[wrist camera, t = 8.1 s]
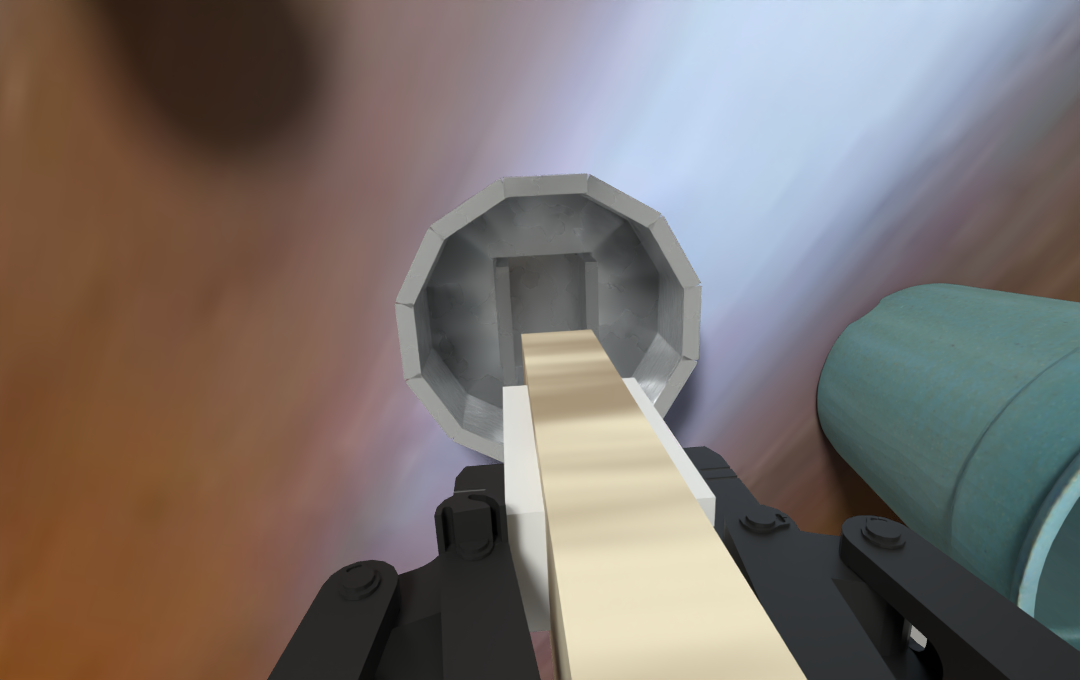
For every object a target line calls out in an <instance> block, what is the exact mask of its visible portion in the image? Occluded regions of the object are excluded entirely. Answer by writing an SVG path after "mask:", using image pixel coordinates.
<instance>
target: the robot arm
mask: <svg viewBox="0 0 1080 680" xmlns="http://www.w3.org/2000/svg"><path fill="white" fill-rule="evenodd" d="M622 380H623V382H624V383H625V385H626V386H627V388H628V390H629V391H630V393H631V395H632V396H633V398H634V399H635V401H636V403H637V404H638V406H639V408H640V409H641V411H642V412H643V414H644V416H645V417H646V419H647V421H648V422H649V424H650V425H651V427H652V429H653V430H654V432H655V434H656V435H657V437H658V438H659V440H660V442H661V443H662V445H663V447H664V448H665V450H666V451H667V453H668V455H669V456H670V458H671V459H672V461H673V463H674V464H675V466H676V468H677V469H678V471H679V472H680V474H681V476H682V477H683V479H684V481H685V482H686V484H687V485H688V487H689V489H690V490H691V492H692V494H693V495H694V497H695V498H696V500H697V502H698V503H699V505H700V507H701V508H702V510H703V511H704V513H705V515H706V516H707V518H708V520H709V521H710V523H711V524H712V526H713V528H714V529H715V531H716V532H717V534H718V536H719V537H720V539H721V541H722V542H723V544H724V545H725V547H726V549H727V550H728V552H729V554H730V555H731V557H732V558H733V560H734V562H735V563H736V565H737V567H738V568H739V570H740V571H741V573H742V575H743V576H744V578H745V580H746V581H747V583H748V584H749V586H750V588H751V589H752V591H753V593H754V594H755V596H756V597H757V599H758V601H759V602H760V604H761V605H762V607H763V609H764V610H765V612H766V614H767V615H768V617H769V618H770V620H771V622H772V623H773V625H774V627H775V628H776V630H777V631H778V633H779V635H780V636H781V638H782V640H783V641H784V643H785V644H786V646H787V648H788V649H789V651H790V653H791V654H792V656H793V657H794V659H795V661H796V662H797V664H798V666H799V667H800V669H801V670H802V672H803V674H804V675H805V677H806V679H807V680H1080V651H1078V650H1077V649H1076V648H1074V647H1073V646H1072V645H1070V644H1069V643H1067V642H1066V641H1065V640H1063V639H1062V638H1060V637H1059V636H1058V635H1056V634H1055V633H1054V632H1052V631H1051V630H1049V629H1048V628H1047V627H1045V626H1044V625H1043V624H1041V623H1040V622H1038V621H1037V620H1036V619H1034V618H1033V617H1032V616H1030V615H1029V614H1027V613H1026V612H1025V611H1023V610H1022V609H1020V608H1019V607H1018V606H1016V605H1015V604H1014V603H1012V602H1011V601H1009V600H1008V599H1007V598H1005V597H1004V596H1003V595H1001V594H1000V593H998V592H997V591H996V590H994V589H993V588H992V587H990V586H989V585H987V584H986V583H985V582H983V581H982V580H981V579H979V578H978V577H976V576H975V575H974V574H972V573H971V572H969V571H968V570H967V569H965V568H964V567H963V566H961V565H960V564H958V563H957V562H956V561H954V560H953V559H952V558H950V557H949V556H947V555H946V554H945V553H943V552H942V551H941V550H939V549H938V548H936V547H935V546H934V545H932V544H931V543H930V542H928V541H927V540H925V539H924V538H923V537H921V536H920V535H918V534H917V533H916V532H914V531H913V530H911V529H909V528H908V527H906V526H904V525H902V524H901V523H898V522H895V521H892V520H889V519H887V518H884V517H879V516H878V517H877V516H870V515H868V516H855V517H852V518H849V519H846V521H845V522H844V523H843V525H842V528H841V536H833V535H824V534H816V533H809V532H804V531H800V530H799V528H798V527H797V525H796V524H795V522H794V521H793V520H792V519H791V518H790V517H789V516H788V515H786V514H785V513H783V512H781V511H779V510H777V509H775V508H772V507H768V506H765V505H760V504H759V503H758V501H757V500H756V499H755V498H754V496H753V495H752V494H751V493H750V491H749V490H748V489H747V488H746V486H745V485H744V484H743V483H742V481H741V480H740V479H739V478H737V475H736V474H735V473H734V471H733V470H732V469H730V466H729V465H728V464H727V463H726V461H725V460H724V459H723V458H722V456H721V455H719V454H717V453H716V452H714V451H712V450H710V449H709V448H707V447H705V446H703V447H690V448H682V447H681V446H680V444H679V443H678V441H677V440H676V438H675V437H674V435H673V434H672V432H671V431H670V429H669V428H668V426H667V425H666V423H665V422H664V421H663V419H662V418H661V416H660V415H659V413H658V412H657V410H656V409H655V407H654V406H653V404H652V403H651V401H650V400H649V398H648V397H647V396H646V394H645V393H644V391H643V390H642V388H641V387H640V385H639V384H638V382H637V381H636V379H635V378H622ZM503 426H504V464H492V465H479V466H467V467H465V468H464V469H463V470H462V471H461V473H460V474H459V475H458V476H457V477H456V480H455V487H454V494H453V496H452V497H450V498H448V499H446V500H444V501H443V502H442V503H441V504H440V505H439V506H438V507H437V509H436V512H435V515H434V517H435V526H436V534H437V543H438V551H439V556H437V557H436V558H435V559H434V560H433V561H431V562H430V563H428V564H426V565H425V566H423V567H420V568H418V569H415V570H412V571H409V572H406V573H403V574H400V575H398V574H397V572H396V570H395V568H394V567H393V566H392V565H390V564H388V563H386V562H384V561H377V560H368V561H360V562H356V563H353V564H351V565H348V566H346V567H343V568H342V569H340V570H339V571H337V572H336V573H334V574H333V575H331V576H330V577H329V579H328V580H327V581H326V582H325V583H324V584H323V586H322V587H321V589H320V591H319V592H318V594H317V596H316V598H315V599H314V601H313V603H312V604H311V606H310V608H309V609H308V611H307V613H306V615H305V616H304V618H303V620H302V621H301V623H300V625H299V626H298V628H297V630H296V632H295V633H294V635H293V637H292V638H291V640H290V642H289V643H288V645H287V647H286V649H285V650H284V652H283V654H282V655H281V657H280V659H279V660H278V662H277V664H276V666H275V667H274V669H273V671H272V672H271V674H270V676H269V677H268V679H267V680H541V679H540V675H539V671H538V666H537V662H536V658H535V653H534V649H533V645H532V641H531V636H530V632H537V631H548V630H551V628H550V608H549V589H548V570H547V551H546V532H545V512H544V505H543V497H542V490H541V483H540V476H539V468H538V461H537V454H536V447H535V439H534V432H533V425H532V418H531V410H530V403H529V396H528V389H527V385H522V386H508V387H503ZM912 625H913V626H914V627H915V628H916V629H918V631H920V632H921V633H922V634H923V635H924V636H925V637H926V638H927V643H926V647H925V648H923V647H922V646H921V645H919V644H918V643H917V642H916V641H915V640H914V639H913V638H911V637H910V634H911V628H912Z"/></svg>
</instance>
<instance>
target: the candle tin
mask: <svg viewBox="0 0 1080 680" xmlns="http://www.w3.org/2000/svg"><path fill="white" fill-rule="evenodd" d="M700 283H701V282H700V280H699V279H698V277H697V275H696V273H695V271H694V270H693V268H692V266H691V264H690V263H689V261H688V259H687V257H686V255H685V254H684V252H683V250H682V248H681V246H680V245H679V243H678V241H677V239H676V237H675V236H674V234H673V232H672V230H671V228H670V227H669V225H668V223H667V221H666V219H665V218H664V216H663V215H661V213H659V212H658V211H656V210H654V209H652V208H650V207H649V206H647V205H645V204H643V203H641V202H639V201H638V200H636V199H634V198H632V197H630V196H629V195H627V194H625V193H623V192H621V191H619V190H618V189H616V188H614V187H612V186H610V185H609V184H607V183H605V182H603V181H601V180H599V179H598V178H596V177H594V176H592V175H590V174H555V175H535V176H515V177H503V182H502V180H501V179H500V178H499V179H498V180H497V181H495V182H494V183H492V184H491V185H489V186H488V187H486V188H485V189H483V190H482V191H480V192H479V193H477V194H476V195H474V196H473V197H471V198H470V199H468V200H467V201H466V202H464V203H463V204H461V205H460V206H458V207H457V208H455V209H454V210H452V211H451V212H449V213H448V214H446V215H445V216H443V217H442V218H440V219H439V220H438V221H436V222H435V223H434V224H432V225H431V227H429V228H428V230H427V232H426V235H425V237H424V239H423V241H422V243H421V246H420V248H419V250H418V252H417V254H416V257H415V259H414V261H413V263H412V265H411V268H410V270H409V272H408V274H407V276H406V279H405V281H404V283H403V285H402V287H401V290H400V292H399V294H398V296H397V298H396V303H395V310H396V318H397V326H398V333H399V341H400V349H401V357H402V365H403V373H404V379H407V380H406V383H407V385H408V386H409V387H410V388H411V390H412V391H413V392H414V394H415V395H416V396H417V397H418V399H419V400H420V401H421V402H422V404H423V405H424V406H425V408H426V409H427V410H428V411H429V413H430V414H431V415H432V417H433V418H434V419H435V420H436V422H437V423H438V424H439V425H440V427H441V428H442V429H443V431H444V432H445V433H446V434H447V436H448V437H449V438H450V439H452V438H453V441H454V442H456V443H458V444H461V445H463V446H465V447H468V448H470V449H473V450H475V451H477V452H480V453H482V454H484V455H487V456H489V457H491V458H494V459H496V460H498V461H501V462H503V463H504V426H503V387H508V386H522V385H524V372H523V355H522V339H521V334H529V333H545V332H560V331H575V330H592V331H593V333H594V335H595V336H596V338H597V339H598V341H599V343H600V344H601V346H602V348H603V349H604V351H605V352H606V354H607V356H608V357H609V359H610V361H611V362H612V364H613V365H614V367H615V369H616V370H617V372H618V373H619V375H620V377H621V378H635V379H636V381H637V382H638V384H639V385H640V387H641V388H642V390H643V391H644V393H645V394H646V396H647V397H648V398H649V400H650V401H651V403H652V404H653V406H654V407H655V409H656V410H657V412H658V413H659V415H660V416H661V418H662V419H663V418H664V417H665V415H666V413H667V412H668V410H669V408H670V407H671V405H672V404H673V402H674V400H675V399H676V397H677V395H678V394H679V392H680V391H681V389H682V387H683V386H684V384H685V382H686V381H687V379H688V378H689V376H690V374H691V373H692V371H693V369H694V368H695V366H696V365H697V363H698V362H697V361H696V360H699V338H700V311H701V285H699V284H700Z"/></svg>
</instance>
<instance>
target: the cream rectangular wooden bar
mask: <svg viewBox="0 0 1080 680" xmlns="http://www.w3.org/2000/svg"><path fill="white" fill-rule="evenodd" d="M521 339H522V355H523V372H524V385H527V389H528V396H529V403H530V410H531V418H532V425H533V432H534V439H535V447H536V454H537V461H538V468H539V476H540V483H541V490H542V497H543V505H544V512H545V532H546V551H547V570H548V589H549V608H550V628H551V630H549V635H550V644H551V653H552V662H553V671H554V680H807V679H806V677H805V675H804V674H803V672H802V670H801V669H800V667H799V666H798V664H797V662H796V661H795V659H794V657H793V656H792V654H791V653H790V651H789V649H788V648H787V646H786V644H785V643H784V641H783V640H782V638H781V636H780V635H779V633H778V631H777V630H776V628H775V627H774V625H773V623H772V622H771V620H770V618H769V617H768V615H767V614H766V612H765V610H764V609H763V607H762V605H761V604H760V602H759V601H758V599H757V597H756V596H755V594H754V593H753V591H752V589H751V588H750V586H749V584H748V583H747V581H746V580H745V578H744V576H743V575H742V573H741V571H740V570H739V568H738V567H737V565H736V563H735V562H734V560H733V558H732V557H731V555H730V554H729V552H728V550H727V549H726V547H725V545H724V544H723V542H722V541H721V539H720V537H719V536H718V534H717V532H716V531H715V529H714V528H713V526H712V524H711V523H710V521H709V520H708V518H707V516H706V515H705V513H704V511H703V510H702V508H701V507H700V505H699V503H698V502H697V500H696V498H695V497H694V495H693V494H692V492H691V490H690V489H689V487H688V485H687V484H686V482H685V481H684V479H683V477H682V476H681V474H680V472H679V471H678V469H677V468H676V466H675V464H674V463H673V461H672V459H671V458H670V456H669V455H668V453H667V451H666V450H665V448H664V447H663V445H662V443H661V442H660V440H659V438H658V437H657V435H656V434H655V432H654V430H653V429H652V427H651V425H650V424H649V422H648V421H647V419H646V417H645V416H644V414H643V412H642V411H641V409H640V408H639V406H638V404H637V403H636V401H635V399H634V398H633V396H632V395H631V393H630V391H629V390H628V388H627V386H626V385H625V383H624V382H623V380H622V378H621V377H620V375H619V373H618V372H617V370H616V369H615V367H614V365H613V364H612V362H611V361H610V359H609V357H608V356H607V354H606V352H605V351H604V349H603V348H602V346H601V344H600V343H599V341H598V339H597V338H596V336H595V335H594V333H593V331H592V330H575V331H560V332H545V333H529V334H521Z"/></svg>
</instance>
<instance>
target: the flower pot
mask: <svg viewBox="0 0 1080 680" xmlns="http://www.w3.org/2000/svg"><path fill="white" fill-rule="evenodd" d="M817 405H818V415H819V419H820V423H821V426H822V429H823V431H824V433H825V435H826V437H827V438H828V439H829V441H830V442H831V444H832V445H833V447H834V448H835V450H836V451H837V452H838V453H839V455H840V456H841V457H842V458H843V459H844V460H845V461H846V462H847V463H848V464H849V465H850V466H851V467H852V468H853V469H854V470H855V471H856V472H857V473H858V475H859V476H860V477H861V478H862V479H863V480H864V481H865V482H866V483H867V484H868V485H869V486H870V487H871V488H872V489H873V490H874V491H875V493H876V494H877V495H878V496H879V497H880V498H881V499H882V500H883V501H884V502H885V503H886V504H887V505H888V506H889V507H890V508H891V509H892V510H893V511H894V512H895V513H896V515H897V516H898V517H899V518H900V519H901V520H902V521H903V522H904V523H905V524H906V525H907V526H908V527H909V528H910V529H911V530H913V531H914V532H916V533H917V534H918V535H920V536H921V537H923V538H924V539H925V540H927V541H928V542H930V543H931V544H932V545H934V546H935V547H936V548H938V549H939V550H941V551H942V552H943V553H945V554H946V555H947V556H949V557H950V558H952V559H953V560H954V561H956V562H957V563H958V564H960V565H961V566H963V567H964V568H965V569H967V570H968V571H969V572H971V573H972V574H974V575H975V576H976V577H978V578H979V579H981V580H982V581H983V582H985V583H986V584H987V585H989V586H990V587H992V588H993V589H994V590H996V591H997V592H998V593H1000V594H1001V595H1003V596H1004V597H1005V598H1007V599H1008V600H1009V601H1011V602H1012V603H1014V604H1015V605H1016V606H1018V607H1019V608H1020V609H1022V610H1023V611H1025V612H1026V613H1027V614H1029V615H1030V616H1032V617H1033V618H1034V619H1036V620H1037V621H1038V622H1040V623H1041V624H1043V625H1044V626H1045V627H1047V628H1048V629H1049V630H1051V631H1052V632H1054V633H1055V634H1056V635H1058V636H1059V637H1060V638H1062V639H1063V640H1065V641H1066V642H1067V643H1069V644H1070V645H1072V646H1073V647H1074V648H1076V649H1077V650H1078V651H1080V303H1079V302H1072V301H1065V300H1058V299H1051V298H1044V297H1037V296H1030V295H1023V294H1017V293H1010V292H1003V291H996V290H989V289H982V288H975V287H969V286H962V285H955V284H938V283H937V284H925V285H918V286H914V287H909V288H906V289H903V290H900V291H897V292H895V293H893V294H891V295H889V296H886V297H884V298H883V299H881V300H880V302H879V304H878V305H877V306H876V307H875V308H874V309H872V310H871V311H870V312H869V313H867V314H866V315H865V316H863V317H862V318H860V319H859V320H857V321H855V322H853V323H851V324H849V325H848V326H847V328H846V329H845V330H844V331H843V332H842V334H841V335H840V336H839V337H838V339H837V340H836V342H835V344H834V345H833V347H832V349H831V351H830V352H829V354H828V357H827V359H826V362H825V364H824V367H823V370H822V373H821V376H820V380H819V385H818V395H817Z"/></svg>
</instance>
